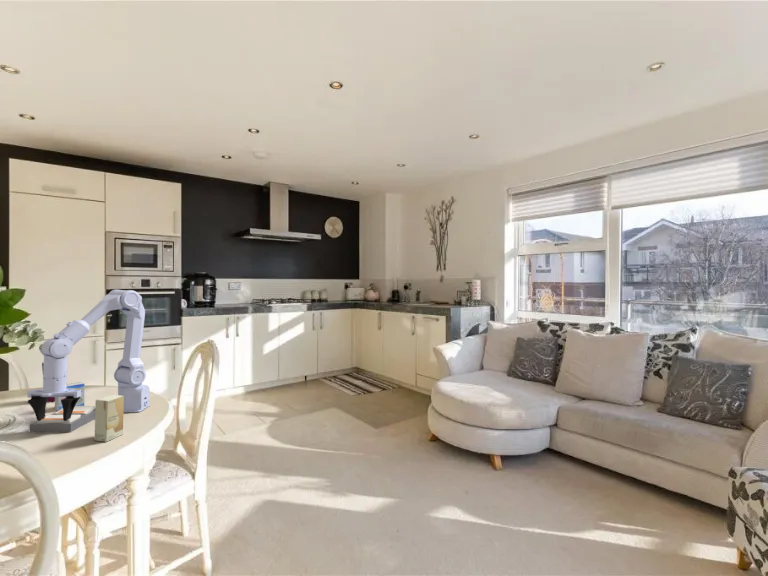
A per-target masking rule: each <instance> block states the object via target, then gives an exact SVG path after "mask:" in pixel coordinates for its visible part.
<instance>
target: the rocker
mask: <svg viewBox="0 0 768 576" xmlns="http://www.w3.org/2000/svg"><path fill="white" fill-rule="evenodd" d="M80 417H81V415H71V418H70V419H68V420H67V421H64V420H63V415H51V414H48V415H45V418H44V419H41V421H37V420H36V421H37V423H70V422H72V421H74V420H76V419H78V418H80Z"/></svg>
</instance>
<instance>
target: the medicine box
mask: <svg viewBox="0 0 768 576" xmlns="http://www.w3.org/2000/svg"><path fill="white" fill-rule="evenodd" d="M85 388H86V387H85V383H84V382H82V381H79V382H71V383H67V387H66V389H73V390H81V396H80V399H79V400H78V402H77V403H76V405H75V406H85V397H86V396H85V395H86V394H85V392H86V391H85ZM65 398H66V397H55V402H54V410H56V412H58V411H59V410H60V409H62V408H63V406H62V403H61V400H62V399H65Z"/></svg>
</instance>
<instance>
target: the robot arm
mask: <svg viewBox="0 0 768 576" xmlns="http://www.w3.org/2000/svg"><path fill="white" fill-rule="evenodd" d="M116 310H120V311H121V312H123V314H125V316H126V325H125V335H124V344H123V353H122V359H120V360H119V362H118V363H117V367H116V369H115V370H114V373H113V377H114V380H115V381H116V382H117V395H121V396H124V412H123V413H140V412H142V411H144V410H145V409H147V408H148V407H150V406H151V403H150V387H149V385H146V384H143V383H144V381H145V379H146V377H147V376H146V375H147V373H146V370H145V363H144V362H143V361H142V359H141V352H142V345H143V334H144V329H145V327H144V326H145V316H146V310H145V307H144V304H143V297H142V295H140V293H138V292H137V291H135V290H131V289H128V290H124V289H123V290H122V289H112V290H111V291H110V292H109V293H108V294H106V295H104V296H103V297H102V298H101V301H99V302H98V303H97V304H96V305H95V306H94V307H93V308H92V309H91V310H90V311H89V312H87V313H86V314H85V315H84V316H83V317H82V318H81V319H78V320H77V319H76V320H73V321H68V322H67V323H66V324H65V325H66V326H65V327H64V328H63V329H62V330H60V331H59V332H58V333H55V334H53V338H48V339H46V340H45V341H44V342H43V343H42V345H41V346H40V348H43V347H44V349H40V348H39V352H40V353H41V354H42V356H43V362H44V365H43V370H42V389H31V390H28V391H27V393H26V394H27V399H28V398H29V399H28V400H27V403H28V404H29V405H30V407H31V408H32V409H33V412H34V415H35V417H36V421H41V419H44V418H45V416H46V407H47V403H48V402H47V399H48V397H66V398H65V399H62V400H61V403H62V406H63V420H64V421H67V420H68V419H70V418H71V415H72V412H73V409H74V407H75V405H76V403H77V402H78V400H79V399H80V396H81V390H73V389H66V387H67V384H68V383H67V381H68V374H67V373H68V355H70V354H71V353H72V350H73V347H74V346H75V345H76V344H77V343H78V342H79V341H81V340H82V339H83V338H84V337H85V336H87V334H89V333H90V331H91V330H90V327H91V326H92V325H94V324H95V323H96V322H97V321H99V320H100V319H101V318H103V317H104V316H105V315H106V314H107V313H108V314H109V312H111V311H116ZM43 345H44V346H43Z"/></svg>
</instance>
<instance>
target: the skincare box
mask: <svg viewBox="0 0 768 576" xmlns="http://www.w3.org/2000/svg"><path fill="white" fill-rule="evenodd" d="M94 406H95V419H94V441H97V442H105V443H107V442H109V441H111V440H113V439H115V438H118V437H121V436H123V435H124V413H125V412H124V396H121V395H118V394H110V395H108V396H104V397H102V398H99V399H95V404H94Z"/></svg>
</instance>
